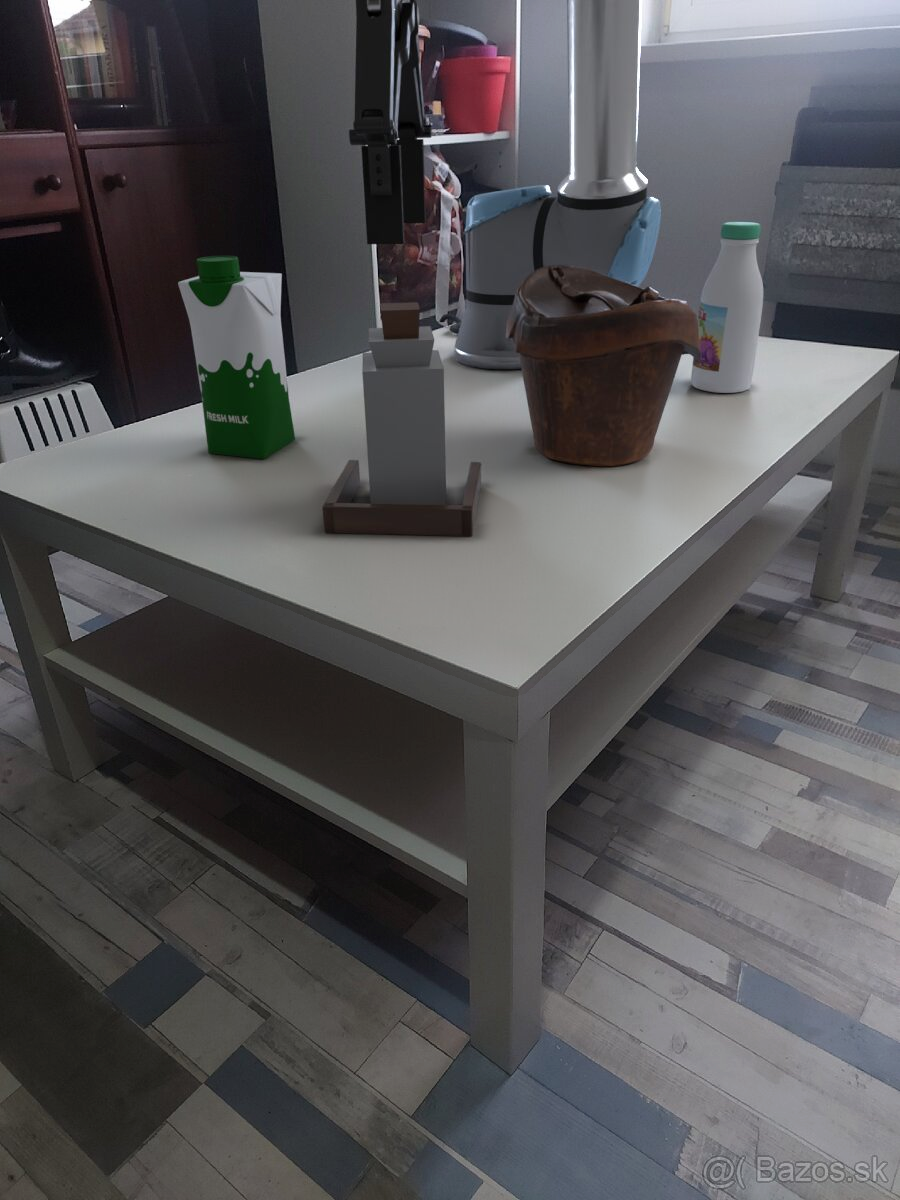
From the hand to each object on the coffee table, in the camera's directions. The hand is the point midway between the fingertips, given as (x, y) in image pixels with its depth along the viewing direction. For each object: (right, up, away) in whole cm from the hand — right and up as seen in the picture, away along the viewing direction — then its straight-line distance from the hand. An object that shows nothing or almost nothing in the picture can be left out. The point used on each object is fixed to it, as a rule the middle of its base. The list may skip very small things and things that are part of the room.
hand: (399, 233), depth 72 cm
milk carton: (-18, -13, +27) cm, 35 cm away
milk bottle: (+40, -2, +45) cm, 60 cm away
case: (+20, -14, +24) cm, 34 cm away
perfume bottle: (0, -21, +11) cm, 24 cm away
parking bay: (0, -21, +11) cm, 24 cm away
